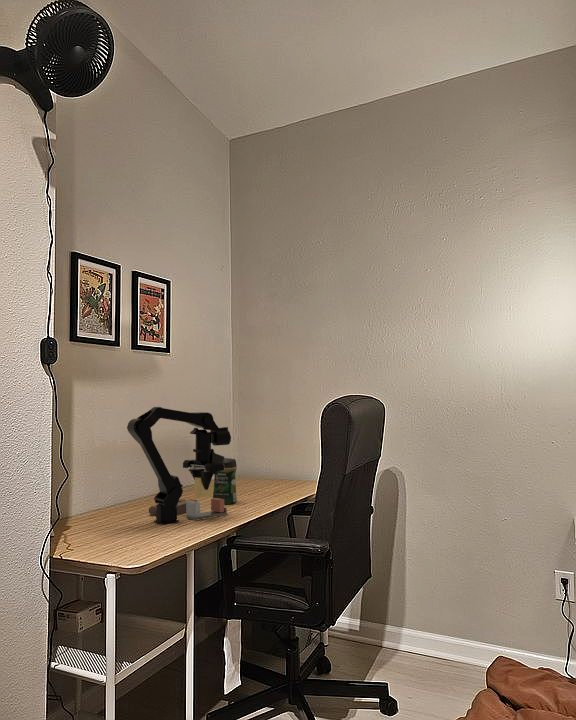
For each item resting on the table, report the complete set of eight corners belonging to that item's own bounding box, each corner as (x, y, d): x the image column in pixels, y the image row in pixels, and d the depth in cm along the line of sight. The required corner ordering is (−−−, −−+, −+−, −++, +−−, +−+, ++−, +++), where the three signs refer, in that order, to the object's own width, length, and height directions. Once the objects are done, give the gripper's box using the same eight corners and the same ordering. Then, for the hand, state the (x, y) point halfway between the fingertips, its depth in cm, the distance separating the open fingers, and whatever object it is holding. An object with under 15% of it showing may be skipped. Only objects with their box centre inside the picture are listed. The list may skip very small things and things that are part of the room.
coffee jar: (209, 504, 249) (209, 458, 250) (219, 500, 256) (219, 456, 257) (230, 505, 245) (230, 459, 246) (239, 502, 252) (239, 457, 253)
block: (200, 497, 218) (200, 478, 219) (194, 496, 221) (194, 477, 222) (212, 496, 222) (212, 477, 222) (205, 495, 225) (205, 476, 225)
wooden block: (197, 508, 238) (172, 517, 221) (173, 507, 241) (147, 515, 225) (197, 499, 238) (172, 507, 221) (173, 498, 242) (147, 505, 225)
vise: (195, 520, 215) (195, 503, 216) (186, 518, 220) (186, 501, 220) (226, 514, 225) (226, 498, 225) (217, 512, 229) (217, 496, 230)
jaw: (220, 512, 223) (219, 500, 223) (211, 510, 227) (211, 498, 227) (224, 511, 224) (224, 499, 225) (215, 509, 228) (215, 497, 229)
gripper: (236, 446, 221) (236, 489, 220) (206, 443, 235) (206, 484, 234) (211, 448, 214) (211, 492, 213) (182, 445, 227) (181, 487, 226)
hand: (203, 488), depth 222 cm, fingers closed on block, 4 cm apart
